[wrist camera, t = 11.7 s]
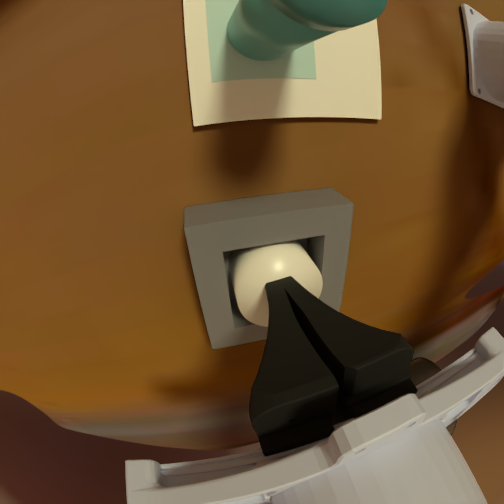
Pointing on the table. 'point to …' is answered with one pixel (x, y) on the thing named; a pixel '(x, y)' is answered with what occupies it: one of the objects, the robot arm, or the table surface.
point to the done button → (269, 275)
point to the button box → (262, 233)
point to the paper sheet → (278, 73)
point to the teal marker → (293, 23)
